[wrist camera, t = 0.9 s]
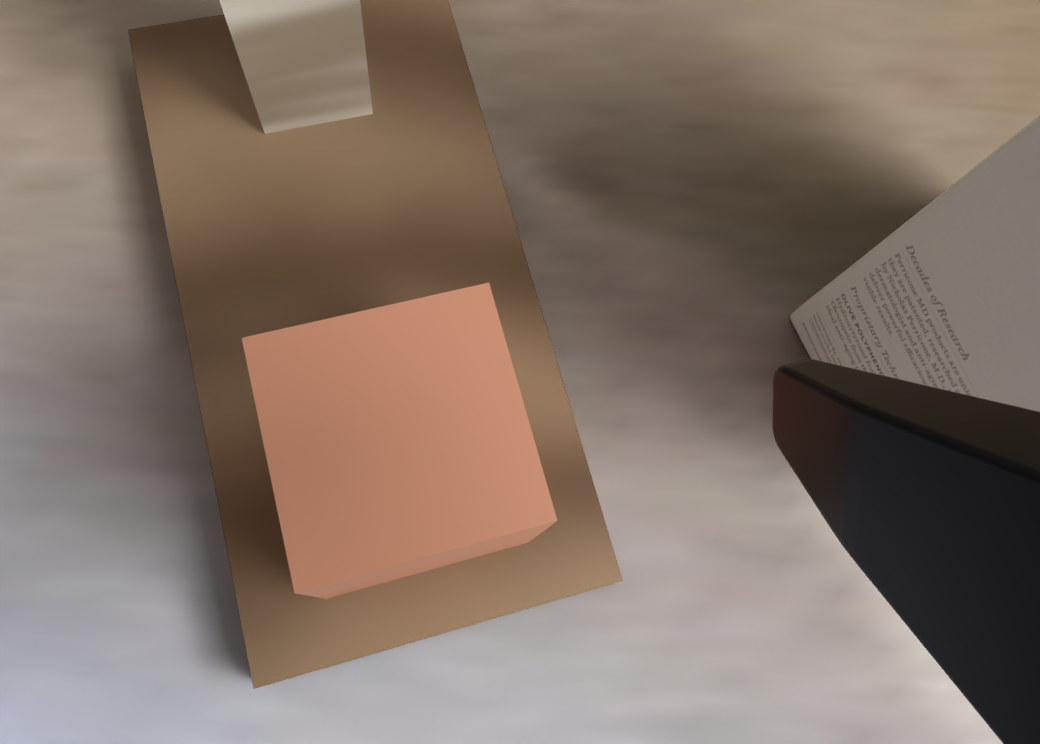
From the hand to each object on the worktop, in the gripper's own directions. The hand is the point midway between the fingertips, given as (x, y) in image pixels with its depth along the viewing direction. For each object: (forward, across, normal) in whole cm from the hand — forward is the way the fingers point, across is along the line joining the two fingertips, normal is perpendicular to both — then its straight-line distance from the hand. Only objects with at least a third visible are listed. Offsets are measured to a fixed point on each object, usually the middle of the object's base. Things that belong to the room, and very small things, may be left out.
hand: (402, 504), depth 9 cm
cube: (+10, 0, +6) cm, 12 cm away
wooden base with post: (+15, 0, +4) cm, 15 cm away
